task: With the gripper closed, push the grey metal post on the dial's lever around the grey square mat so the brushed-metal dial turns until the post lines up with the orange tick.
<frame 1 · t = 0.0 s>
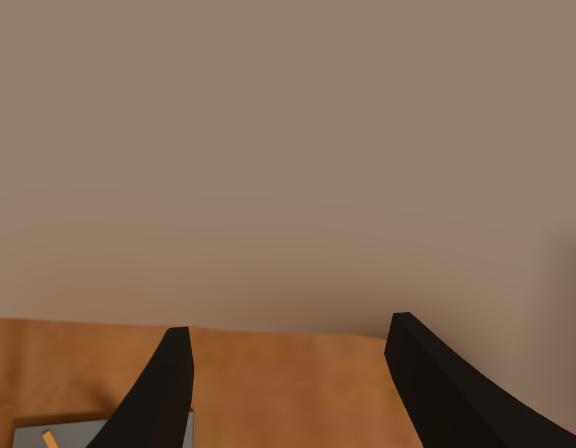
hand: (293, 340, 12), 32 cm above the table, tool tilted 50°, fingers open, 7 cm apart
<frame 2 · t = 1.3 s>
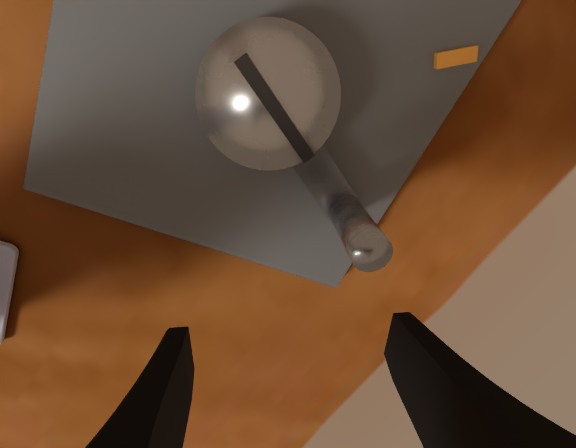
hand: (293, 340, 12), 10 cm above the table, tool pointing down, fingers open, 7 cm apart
dial: (304, 153, 15), point 4 cm above the table, hinge at 0.0°
grey square mat: (264, 90, 17), on the table
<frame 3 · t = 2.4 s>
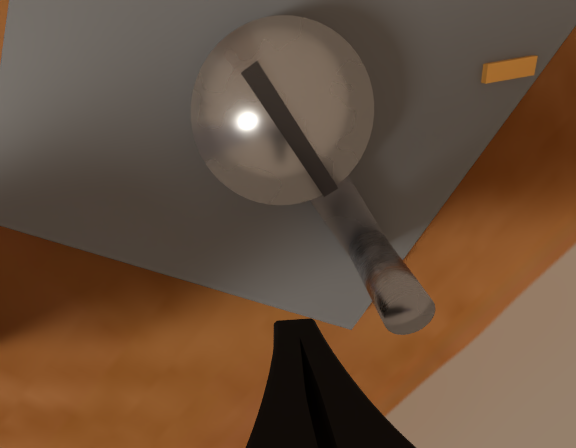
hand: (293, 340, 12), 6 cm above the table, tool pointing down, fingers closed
dial: (326, 186, 12), point 4 cm above the table, hinge at 0.0°
grey square mat: (275, 104, 14), on the table
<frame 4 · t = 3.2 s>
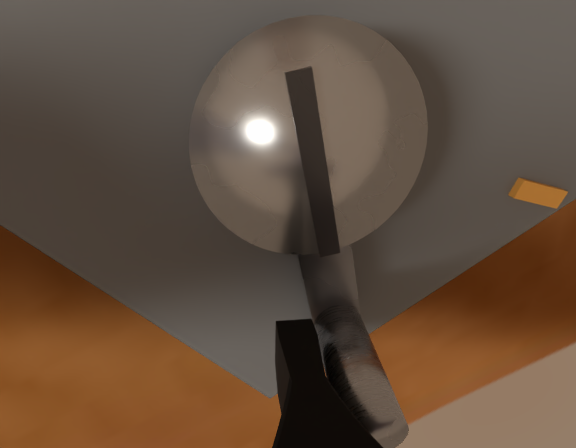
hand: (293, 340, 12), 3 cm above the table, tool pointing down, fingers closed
dial: (331, 248, 9), point 4 cm above the table, hinge at 2.0°, touching gripper
grey square mat: (294, 125, 12), on the table
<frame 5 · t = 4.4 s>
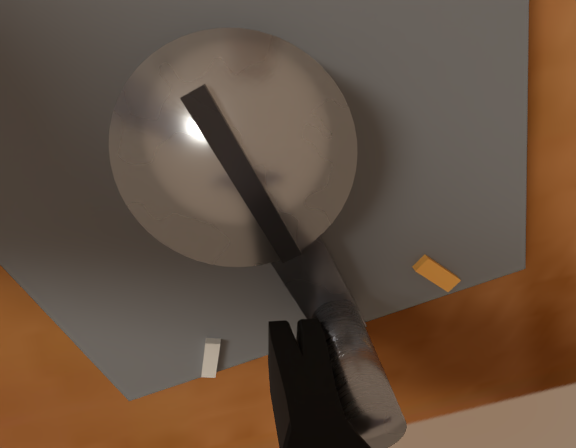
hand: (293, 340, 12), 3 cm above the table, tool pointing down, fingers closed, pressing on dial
dial: (286, 253, 9), point 4 cm above the table, hinge at 37.5°, touching gripper
grey square mat: (239, 134, 11), on the table
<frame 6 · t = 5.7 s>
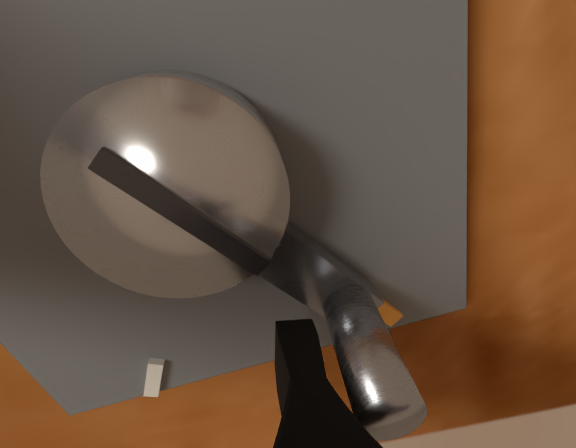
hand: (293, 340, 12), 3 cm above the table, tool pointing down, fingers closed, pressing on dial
dial: (250, 268, 9), point 4 cm above the table, hinge at 63.8°, touching gripper
grey square mat: (190, 164, 12), on the table
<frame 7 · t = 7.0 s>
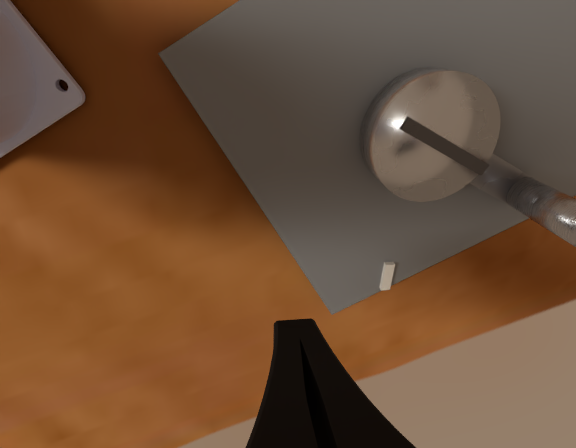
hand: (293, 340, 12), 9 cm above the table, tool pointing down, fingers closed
dial: (483, 169, 16), point 4 cm above the table, hinge at 63.6°
grey square mat: (406, 126, 19), on the table
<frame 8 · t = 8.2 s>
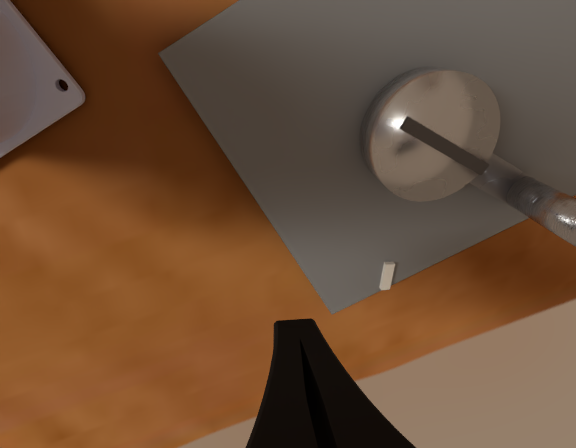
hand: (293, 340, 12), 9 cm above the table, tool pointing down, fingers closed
dial: (482, 168, 16), point 4 cm above the table, hinge at 63.6°
grey square mat: (406, 125, 19), on the table
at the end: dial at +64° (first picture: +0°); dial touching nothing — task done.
